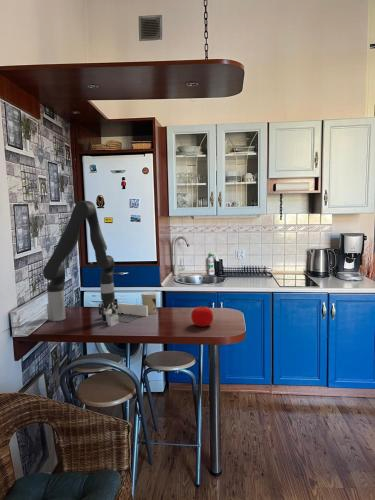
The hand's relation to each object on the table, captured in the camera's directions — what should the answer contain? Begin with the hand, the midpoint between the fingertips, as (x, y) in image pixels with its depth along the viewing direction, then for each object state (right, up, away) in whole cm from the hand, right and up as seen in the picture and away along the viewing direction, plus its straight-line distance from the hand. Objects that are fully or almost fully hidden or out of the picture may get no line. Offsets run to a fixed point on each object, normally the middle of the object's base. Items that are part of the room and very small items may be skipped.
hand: (109, 319), depth 211 cm
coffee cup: (+21, +1, +19) cm, 28 cm away
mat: (+9, -1, +6) cm, 11 cm away
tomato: (+52, -2, -11) cm, 53 cm away
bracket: (0, -2, -2) cm, 3 cm away
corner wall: (+8, -1, +9) cm, 12 cm away
